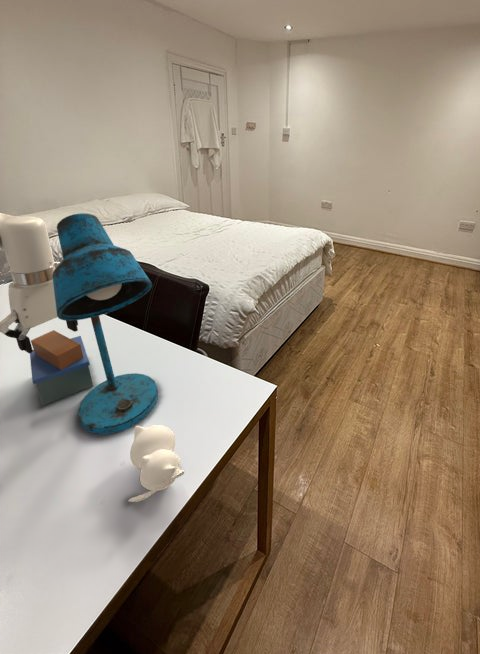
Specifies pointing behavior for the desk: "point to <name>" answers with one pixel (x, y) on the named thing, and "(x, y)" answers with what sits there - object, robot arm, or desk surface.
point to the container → (60, 376)
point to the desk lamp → (97, 299)
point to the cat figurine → (155, 458)
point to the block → (57, 349)
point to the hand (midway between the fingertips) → (51, 339)
